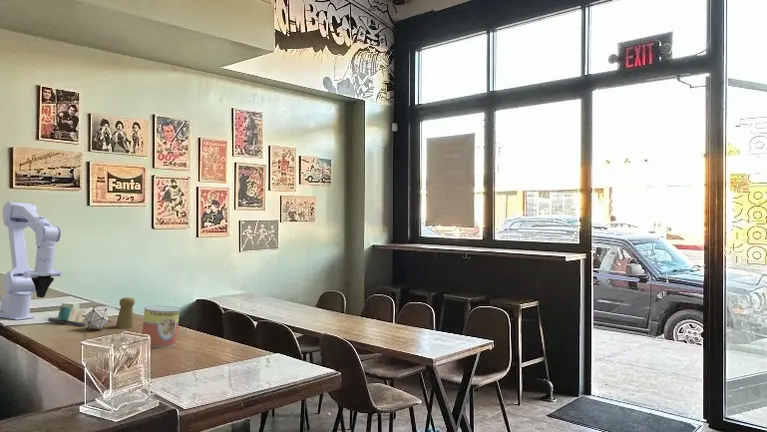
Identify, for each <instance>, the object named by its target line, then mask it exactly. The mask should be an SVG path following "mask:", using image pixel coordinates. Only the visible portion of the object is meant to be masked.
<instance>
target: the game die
mask: <svg viewBox="0 0 767 432" xmlns="http://www.w3.org/2000/svg"><path fill="white" fill-rule="evenodd" d="M107 310H108V307H105V309H102V308H96V306H93V308H92V309H91V310H90V311H89V312H87V314H86V313H85V315H82V316H83V317H84V320H85V324H86V326H87V327H86V330H88V329H95V330H98V331H99V332H101V328H103V327H104V326H106V325H107V324H108V323H111V322H112V320H109V316H108V313H107Z"/></svg>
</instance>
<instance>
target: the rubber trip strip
mask: <svg viewBox="0 0 767 432" xmlns="http://www.w3.org/2000/svg"><path fill="white" fill-rule="evenodd" d="M57 318H58V317H56V318H55V317H48V320H47V321H48V322H54V323H60V324H64V325H65V324H66V325H73V326H77V327H86V322H75V321H67V320H61V319H57Z"/></svg>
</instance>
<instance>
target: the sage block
mask: <svg viewBox="0 0 767 432" xmlns="http://www.w3.org/2000/svg"><path fill="white" fill-rule="evenodd" d="M80 305H81V303H80V302H75V301H74V302H73V301H65V302H61V307H66V308H73V309H79V310H80V307H81V306H80Z"/></svg>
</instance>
